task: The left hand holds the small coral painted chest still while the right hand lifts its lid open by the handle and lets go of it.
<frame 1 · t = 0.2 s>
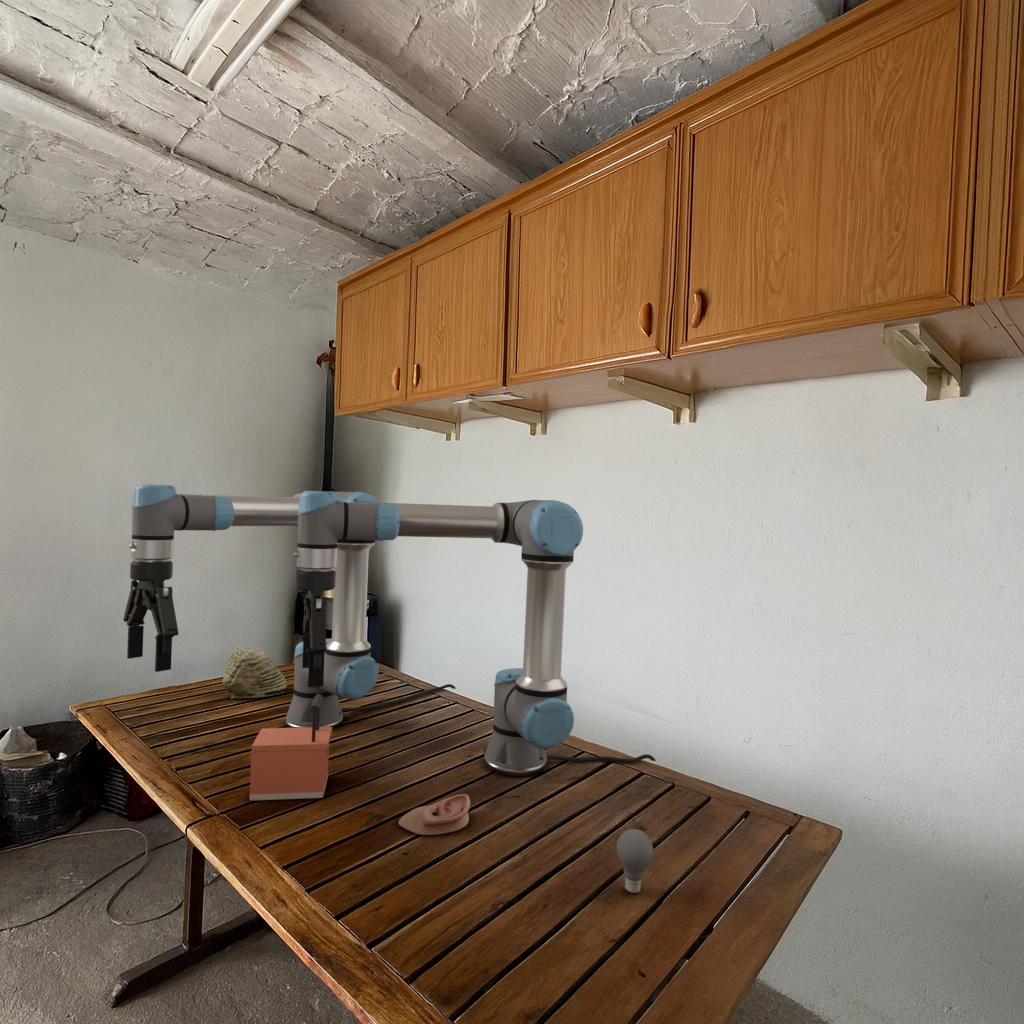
left hand: (148, 663, 129), 28 cm above the table, tool pointing down, fingers open, 13 cm apart
right hand: (312, 676, 125), 28 cm above the table, tool pointing down, fingers open, 13 cm apart
fossil: (254, 694, 198), on the table
light bulb: (632, 891, 106), on the table
chest: (290, 788, 137), on the table
anatomical model: (434, 822, 125), on the table
lid: (294, 720, 137), point 15 cm above the table, hinge at 0.0°
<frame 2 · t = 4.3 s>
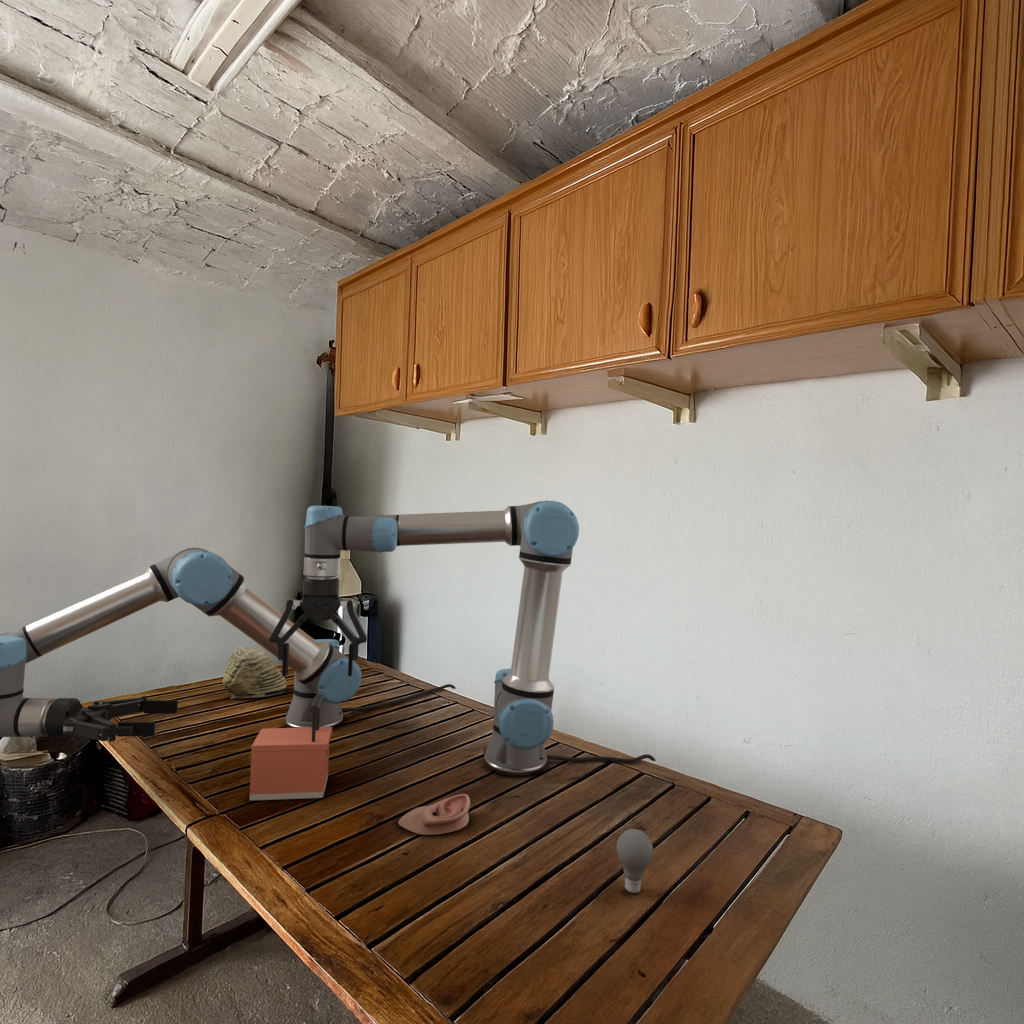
left hand: (166, 717, 132), 16 cm above the table, tool horizontal, fingers open, 13 cm apart
right hand: (317, 674, 137), 25 cm above the table, tool pointing down, fingers open, 13 cm apart
nothing on the table moved.
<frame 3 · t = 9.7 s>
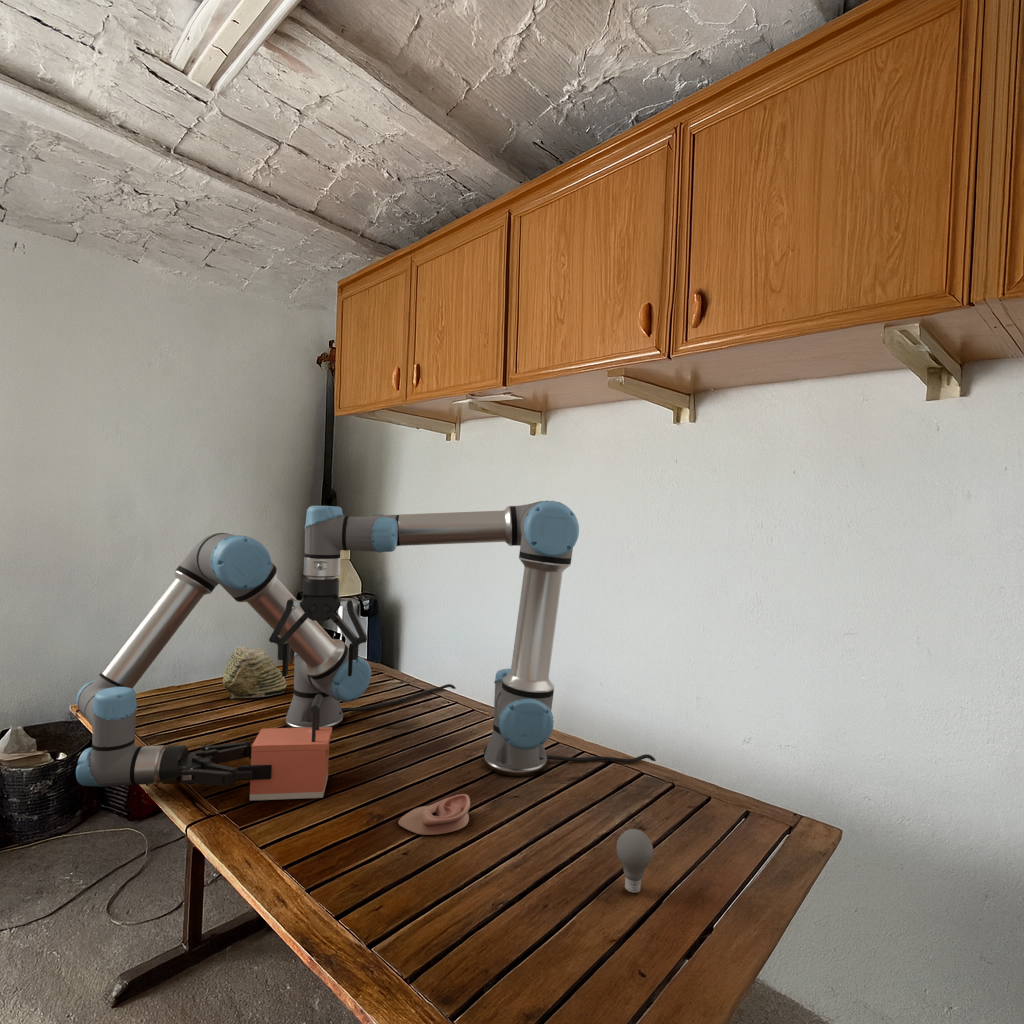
left hand: (275, 761, 136), 6 cm above the table, tool horizontal, fingers closed on chest, 10 cm apart
right hand: (317, 674, 137), 25 cm above the table, tool pointing down, fingers open, 13 cm apart
chest: (290, 788, 137), on the table, touching left hand
everything else where it was.
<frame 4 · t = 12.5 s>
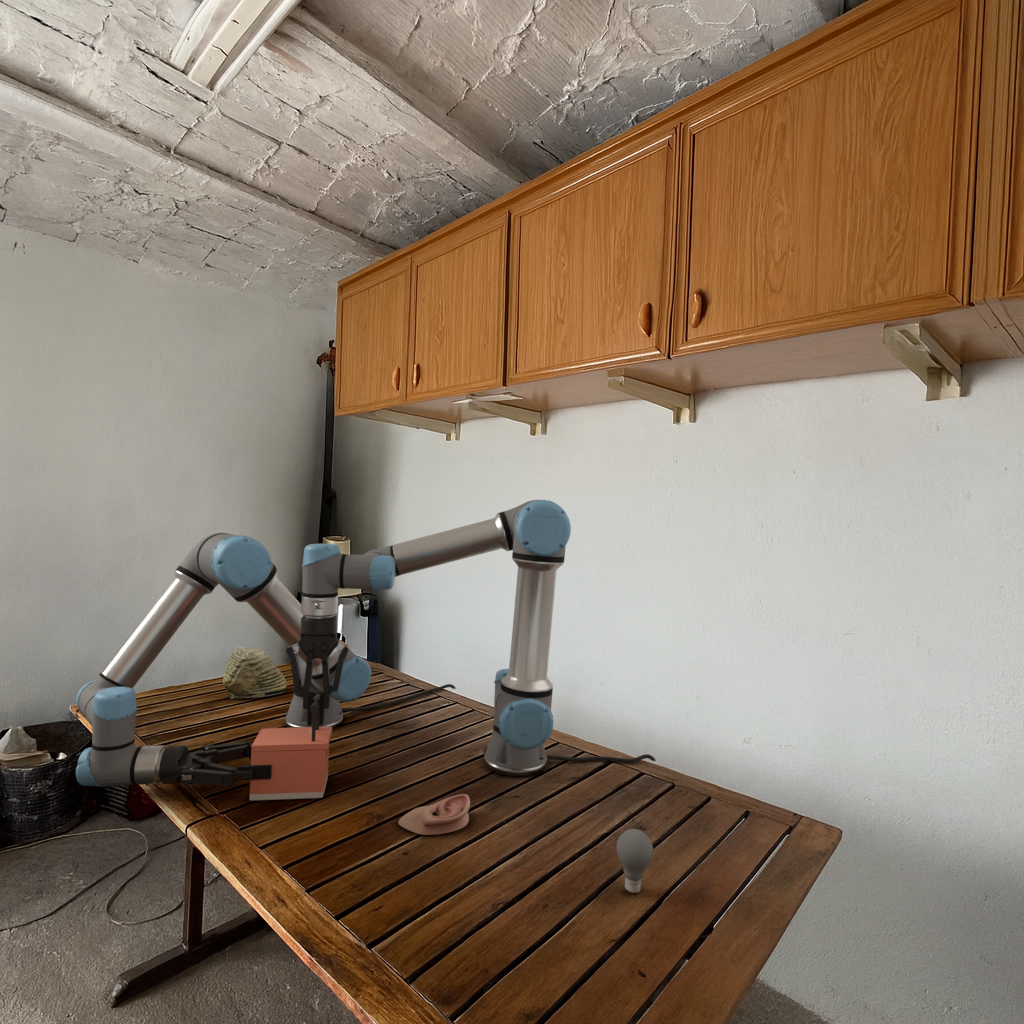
left hand: (275, 761, 136), 6 cm above the table, tool horizontal, fingers closed on chest, 10 cm apart
right hand: (315, 723, 137), 14 cm above the table, tool pointing down, fingers closed on lid, 2 cm apart
chest: (290, 788, 137), on the table, touching left hand
lid: (294, 720, 137), point 15 cm above the table, hinge at 0.4°, touching right hand
everything else where it was.
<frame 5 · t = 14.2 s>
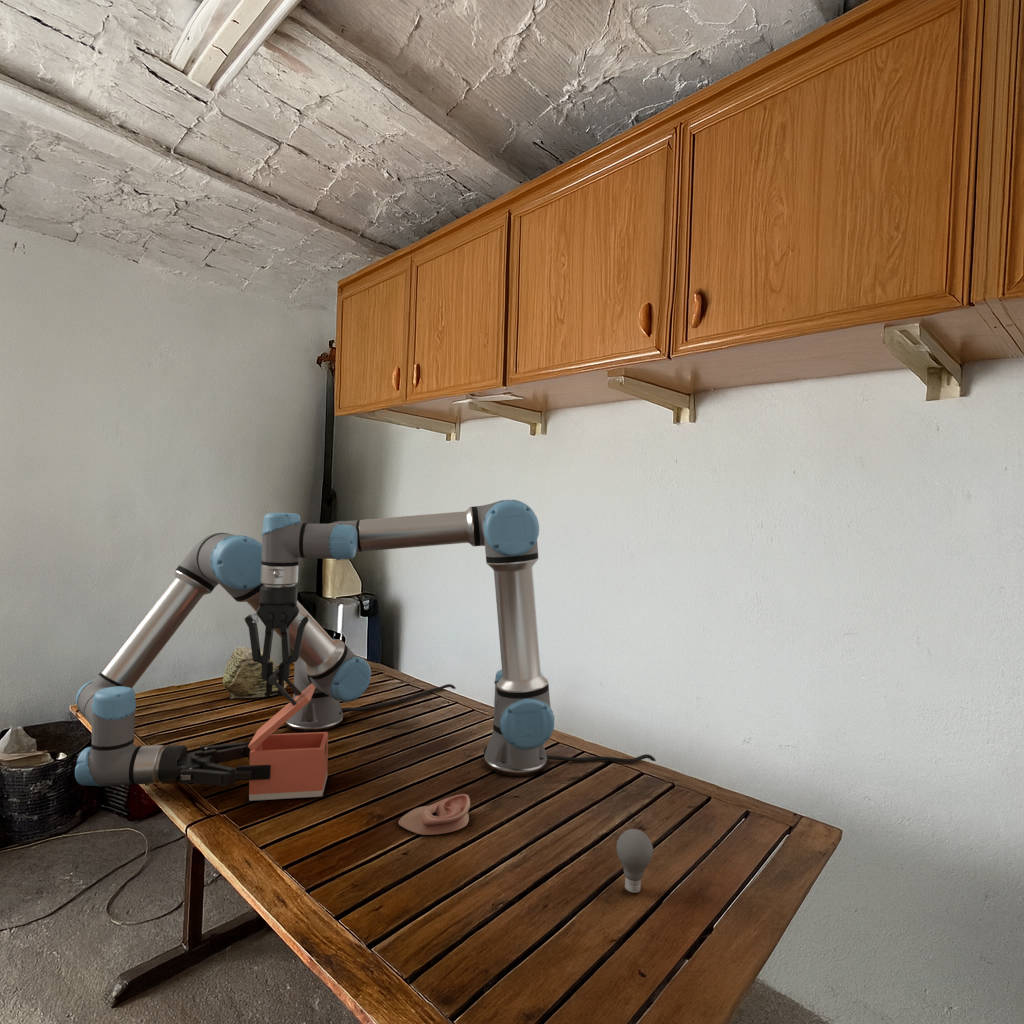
left hand: (274, 761, 136), 6 cm above the table, tool horizontal, fingers closed on chest, 10 cm apart
right hand: (274, 693, 136), 21 cm above the table, tool pointing down, fingers closed on lid, 2 cm apart
chest: (289, 787, 137), on the table, touching left hand
lid: (270, 702, 136), point 19 cm above the table, hinge at 41.4°, touching right hand
everything else where it was.
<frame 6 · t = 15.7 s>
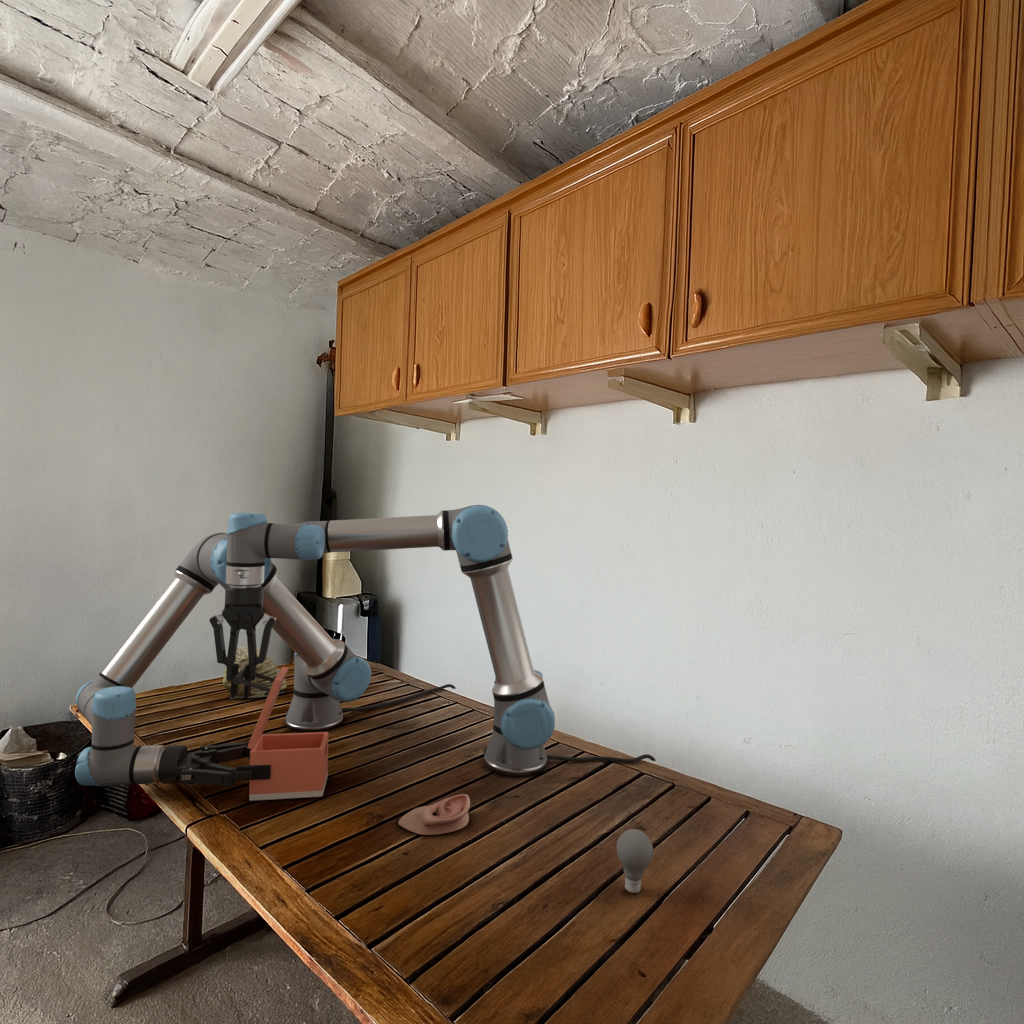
left hand: (275, 761, 136), 6 cm above the table, tool horizontal, fingers closed on chest, 10 cm apart
right hand: (240, 695, 135), 20 cm above the table, tool pointing down, fingers open, 2 cm apart
chest: (290, 787, 137), on the table, touching left hand
lid: (250, 700, 135), point 19 cm above the table, hinge at 69.7°
everything else where it was.
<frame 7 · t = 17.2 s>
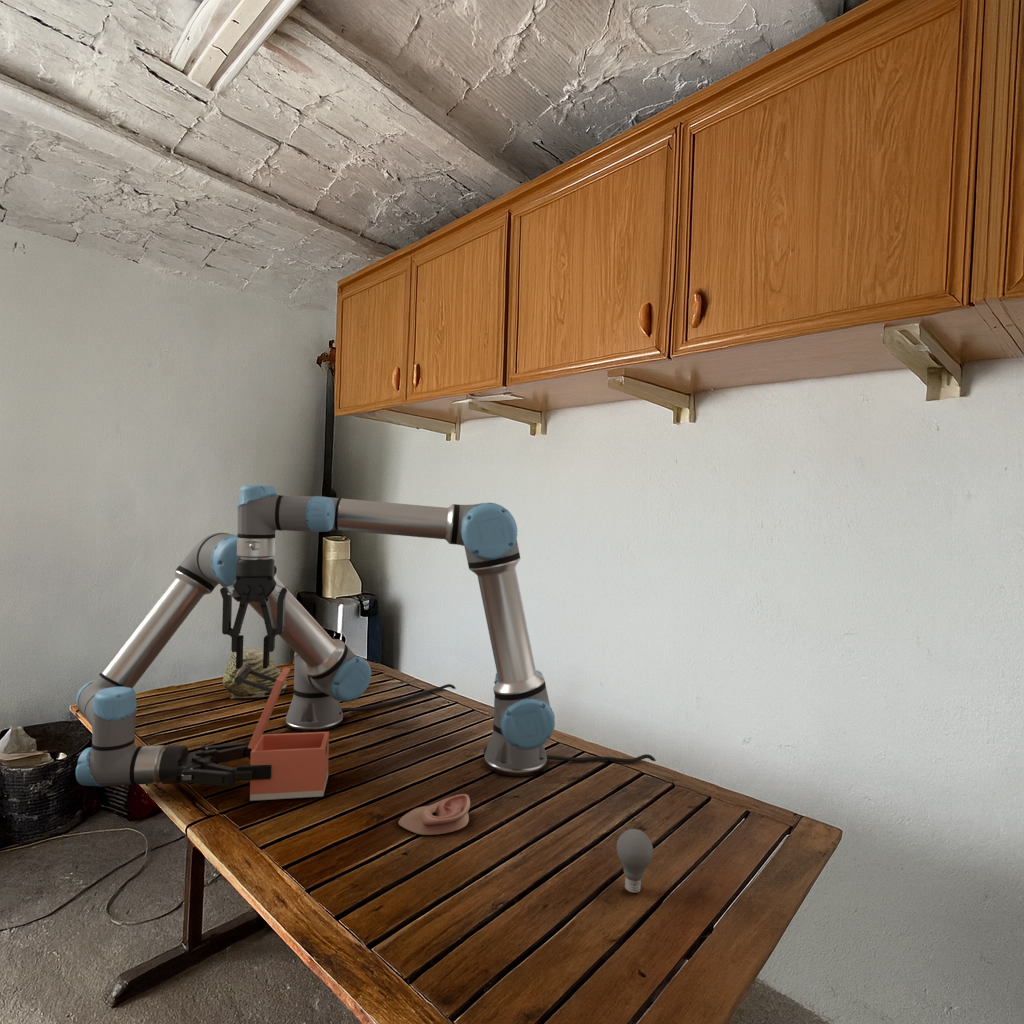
left hand: (275, 761, 136), 6 cm above the table, tool horizontal, fingers closed on chest, 10 cm apart
right hand: (252, 666, 135), 27 cm above the table, tool pointing down, fingers open, 5 cm apart
chest: (290, 787, 137), on the table, touching left hand
lid: (251, 700, 135), point 19 cm above the table, hinge at 68.5°
everything else where it was.
when the left hand's fingers open (6 cm above the table, at t = 19.9 s): chest stays where it is, on the table.
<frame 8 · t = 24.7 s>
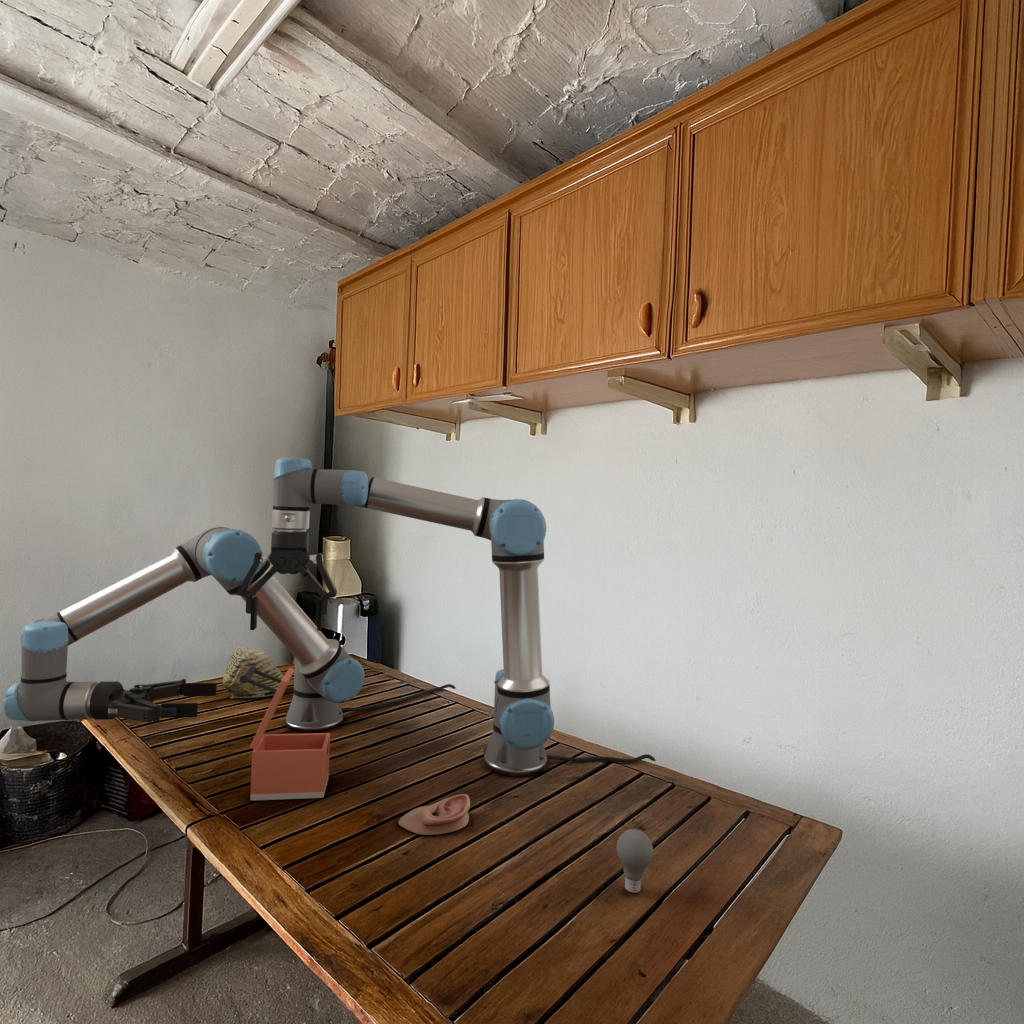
left hand: (207, 699, 133), 20 cm above the table, tool horizontal, fingers open, 13 cm apart
right hand: (286, 629, 136), 35 cm above the table, tool pointing down, fingers open, 13 cm apart
chest: (291, 788, 137), on the table
lid: (255, 700, 135), point 19 cm above the table, hinge at 67.2°
everything else where it was.
at the end: lid at +67° (first picture: +0°); the left hand is holding nothing; the right hand is holding nothing; chest tilted 0°; chest never tilted more than 2° during the clip; chest moved 0.2 cm from its start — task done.
